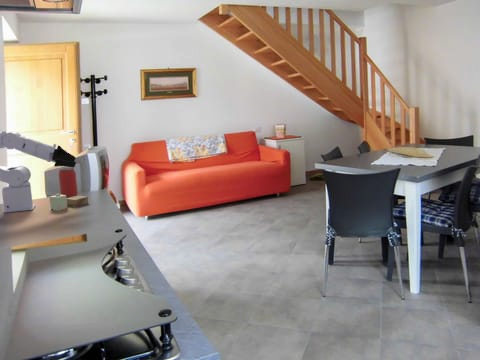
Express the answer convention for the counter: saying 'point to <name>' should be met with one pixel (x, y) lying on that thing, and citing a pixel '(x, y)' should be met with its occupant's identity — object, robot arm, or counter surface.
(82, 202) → the walnut block
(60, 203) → the sage brick
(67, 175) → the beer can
